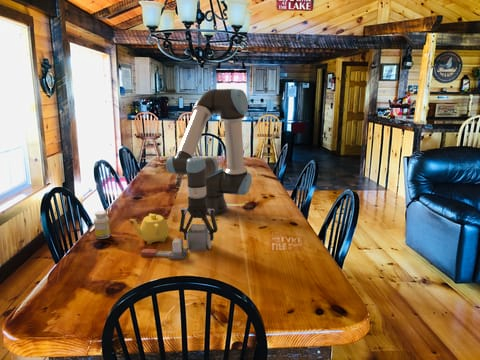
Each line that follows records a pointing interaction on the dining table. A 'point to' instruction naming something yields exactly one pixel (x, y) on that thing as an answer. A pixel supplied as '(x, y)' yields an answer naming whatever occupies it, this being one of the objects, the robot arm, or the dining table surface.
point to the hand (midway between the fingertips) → (199, 247)
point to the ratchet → (176, 252)
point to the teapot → (152, 228)
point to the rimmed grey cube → (198, 237)
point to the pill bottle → (102, 225)
